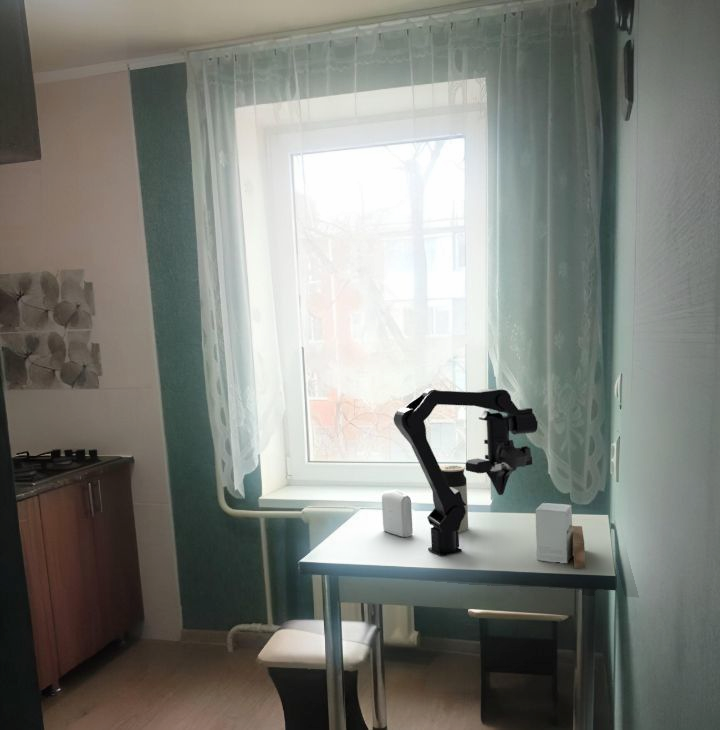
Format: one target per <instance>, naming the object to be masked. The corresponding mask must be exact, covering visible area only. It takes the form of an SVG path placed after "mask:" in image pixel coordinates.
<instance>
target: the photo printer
mask: <svg viewBox="0 0 720 730" xmlns="http://www.w3.org/2000/svg"><path fill="white" fill-rule="evenodd" d="M381 506H382V507H381V508H382V511H381V512H382V526H383V531H384V532H387V533H389V534H393V535H396V536H399V537H402V538H409V537H411V536H412V535H413V533H414V532H413V515H412V514H413V513H412V511H413V509H412V500H411V497H410V496H409V495H408V494H407V493H405V492H403V491H401V490H398V489H390V490H386V491H383V493H382V495H381Z"/></svg>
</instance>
